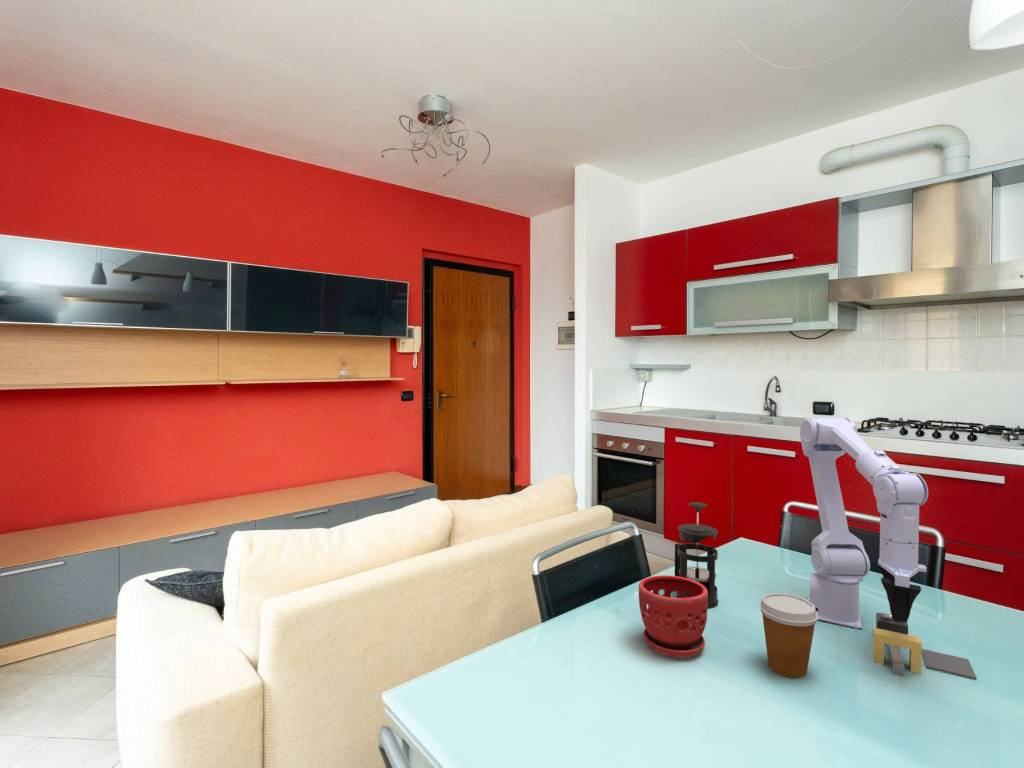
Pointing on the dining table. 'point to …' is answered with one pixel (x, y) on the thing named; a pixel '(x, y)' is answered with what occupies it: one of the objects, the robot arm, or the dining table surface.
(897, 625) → the grey block with bar
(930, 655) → the rubber mat
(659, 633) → the plant pot
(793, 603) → the disposable coffee cup
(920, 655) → the yellow pull handle
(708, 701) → the dining table surface
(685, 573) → the french press
